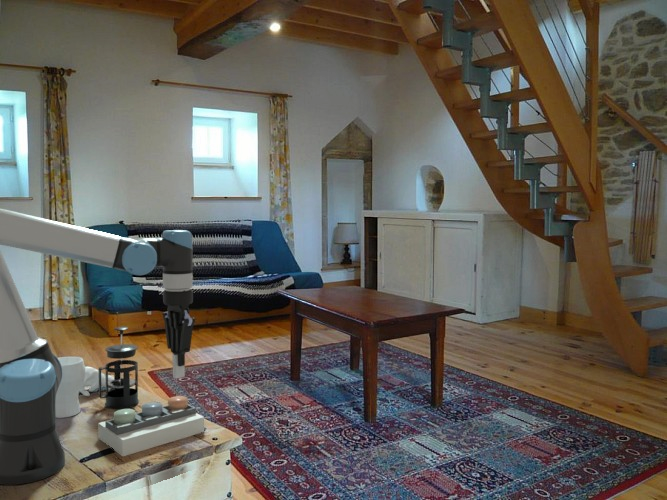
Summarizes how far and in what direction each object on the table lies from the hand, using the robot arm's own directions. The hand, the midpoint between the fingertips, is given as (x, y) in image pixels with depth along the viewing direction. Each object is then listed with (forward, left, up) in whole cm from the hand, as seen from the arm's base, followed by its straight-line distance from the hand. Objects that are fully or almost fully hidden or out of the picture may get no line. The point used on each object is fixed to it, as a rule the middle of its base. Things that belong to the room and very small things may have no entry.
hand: (178, 376), depth 149 cm
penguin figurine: (+21, +37, -14) cm, 45 cm away
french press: (+13, +24, -14) cm, 31 cm away
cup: (+3, +35, -14) cm, 38 cm away
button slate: (-6, +4, -8) cm, 11 cm away
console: (-6, +4, -14) cm, 16 cm away
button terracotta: (0, 0, -8) cm, 8 cm away
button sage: (-12, +9, -8) cm, 17 cm away
